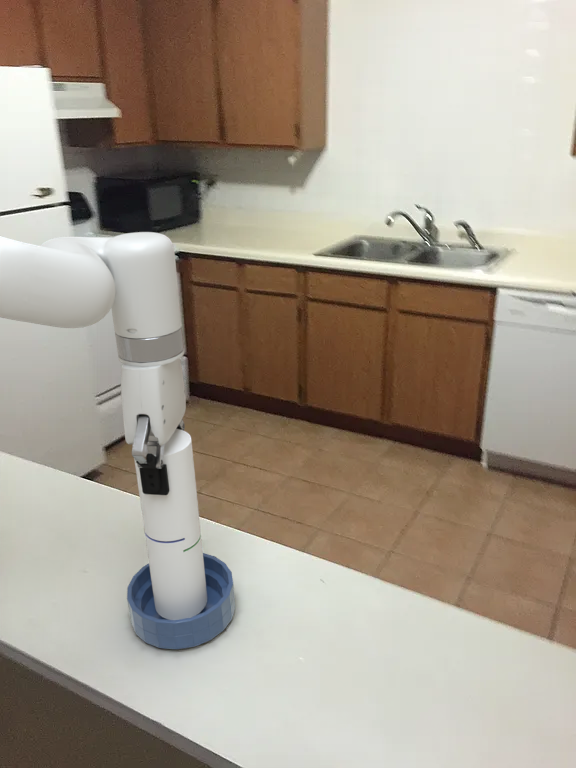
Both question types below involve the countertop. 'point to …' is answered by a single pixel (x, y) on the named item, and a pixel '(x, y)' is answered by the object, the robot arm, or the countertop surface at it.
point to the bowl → (188, 629)
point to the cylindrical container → (175, 534)
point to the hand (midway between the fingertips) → (166, 475)
